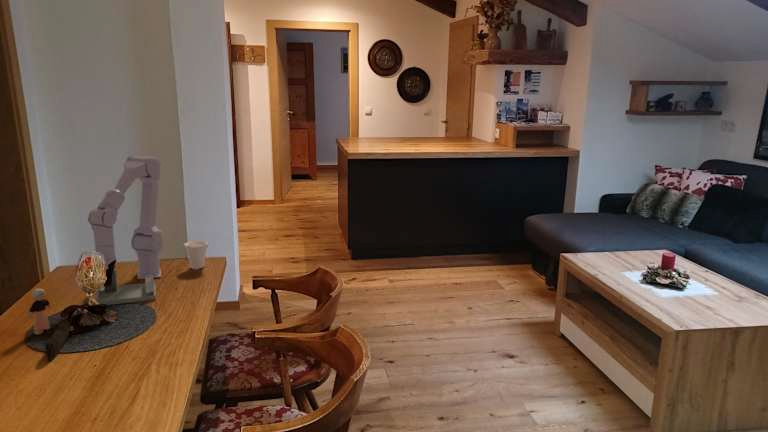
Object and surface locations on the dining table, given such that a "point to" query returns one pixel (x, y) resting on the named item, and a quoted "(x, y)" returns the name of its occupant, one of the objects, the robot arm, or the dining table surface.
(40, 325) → the grandmother figurine
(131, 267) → the dining table surface
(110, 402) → the dining table surface
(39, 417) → the dining table surface
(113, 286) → the dark steel block
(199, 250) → the cup
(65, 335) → the hand tool
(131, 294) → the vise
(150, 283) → the sliding jaw
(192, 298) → the dining table surface
